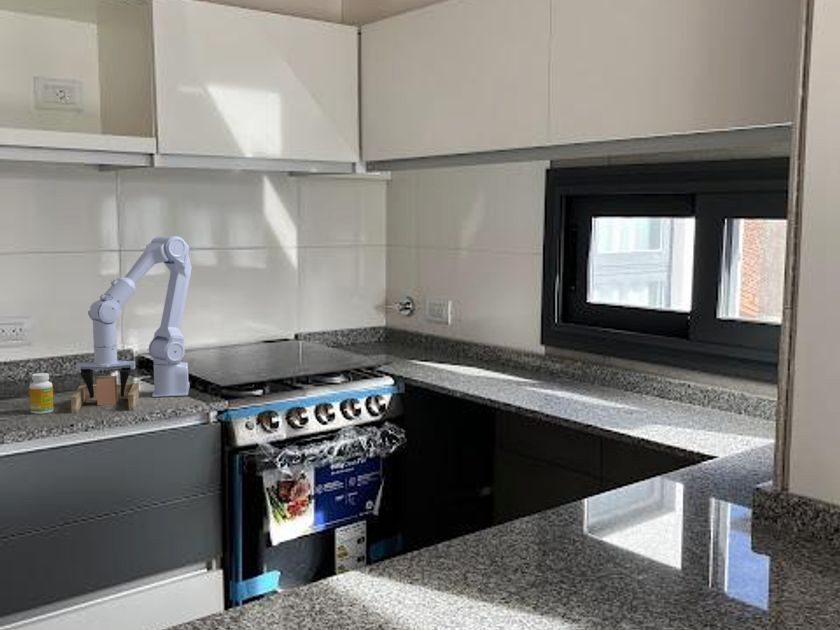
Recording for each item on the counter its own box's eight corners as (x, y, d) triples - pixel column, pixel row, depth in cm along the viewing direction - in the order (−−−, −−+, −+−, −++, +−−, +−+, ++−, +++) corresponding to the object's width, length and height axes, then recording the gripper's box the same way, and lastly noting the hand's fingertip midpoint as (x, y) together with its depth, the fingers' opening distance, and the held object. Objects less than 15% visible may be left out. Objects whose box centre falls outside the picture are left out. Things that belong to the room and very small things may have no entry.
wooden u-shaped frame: (139, 397, 239) (139, 383, 239) (134, 410, 224) (133, 394, 223) (80, 399, 236) (80, 385, 236) (71, 412, 220) (70, 397, 220)
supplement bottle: (45, 414, 219) (43, 376, 217) (25, 413, 220) (24, 375, 218) (58, 410, 224) (56, 372, 223) (39, 409, 225) (37, 371, 224)
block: (117, 401, 235) (116, 375, 234) (115, 404, 230) (114, 378, 229) (99, 402, 234) (98, 376, 233) (97, 405, 229) (96, 379, 228)
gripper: (73, 349, 224) (75, 400, 226) (132, 347, 227) (134, 398, 229) (77, 345, 231) (79, 395, 233) (135, 343, 234) (136, 393, 236)
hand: (107, 396), depth 231 cm, fingers open, 7 cm apart
